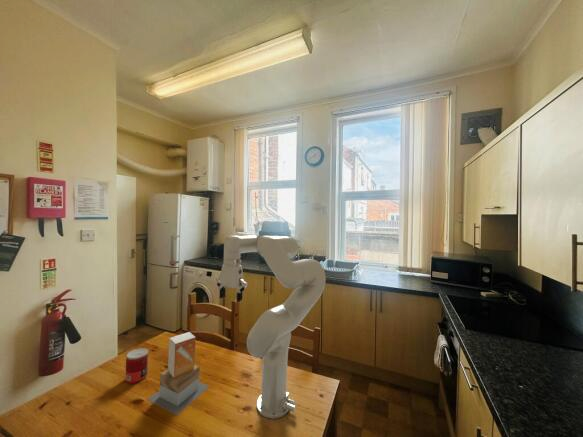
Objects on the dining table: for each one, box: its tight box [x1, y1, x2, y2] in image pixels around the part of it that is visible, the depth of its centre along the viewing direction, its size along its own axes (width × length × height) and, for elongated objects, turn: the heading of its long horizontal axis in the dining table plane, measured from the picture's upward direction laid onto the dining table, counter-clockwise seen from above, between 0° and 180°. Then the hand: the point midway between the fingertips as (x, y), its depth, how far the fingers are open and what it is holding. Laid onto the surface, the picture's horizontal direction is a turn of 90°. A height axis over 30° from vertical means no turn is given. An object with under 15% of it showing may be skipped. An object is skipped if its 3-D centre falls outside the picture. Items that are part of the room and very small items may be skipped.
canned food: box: [124, 347, 149, 385], centre depth 101 cm, size 8×8×11 cm
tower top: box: [159, 364, 200, 394], centre depth 93 cm, size 10×10×4 cm
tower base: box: [159, 377, 200, 406], centre depth 93 cm, size 10×10×4 cm
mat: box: [146, 381, 210, 416], centre depth 93 cm, size 16×16×1 cm
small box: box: [167, 331, 197, 378], centre depth 93 cm, size 8×6×13 cm
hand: (230, 299), depth 108 cm, fingers open, 9 cm apart
